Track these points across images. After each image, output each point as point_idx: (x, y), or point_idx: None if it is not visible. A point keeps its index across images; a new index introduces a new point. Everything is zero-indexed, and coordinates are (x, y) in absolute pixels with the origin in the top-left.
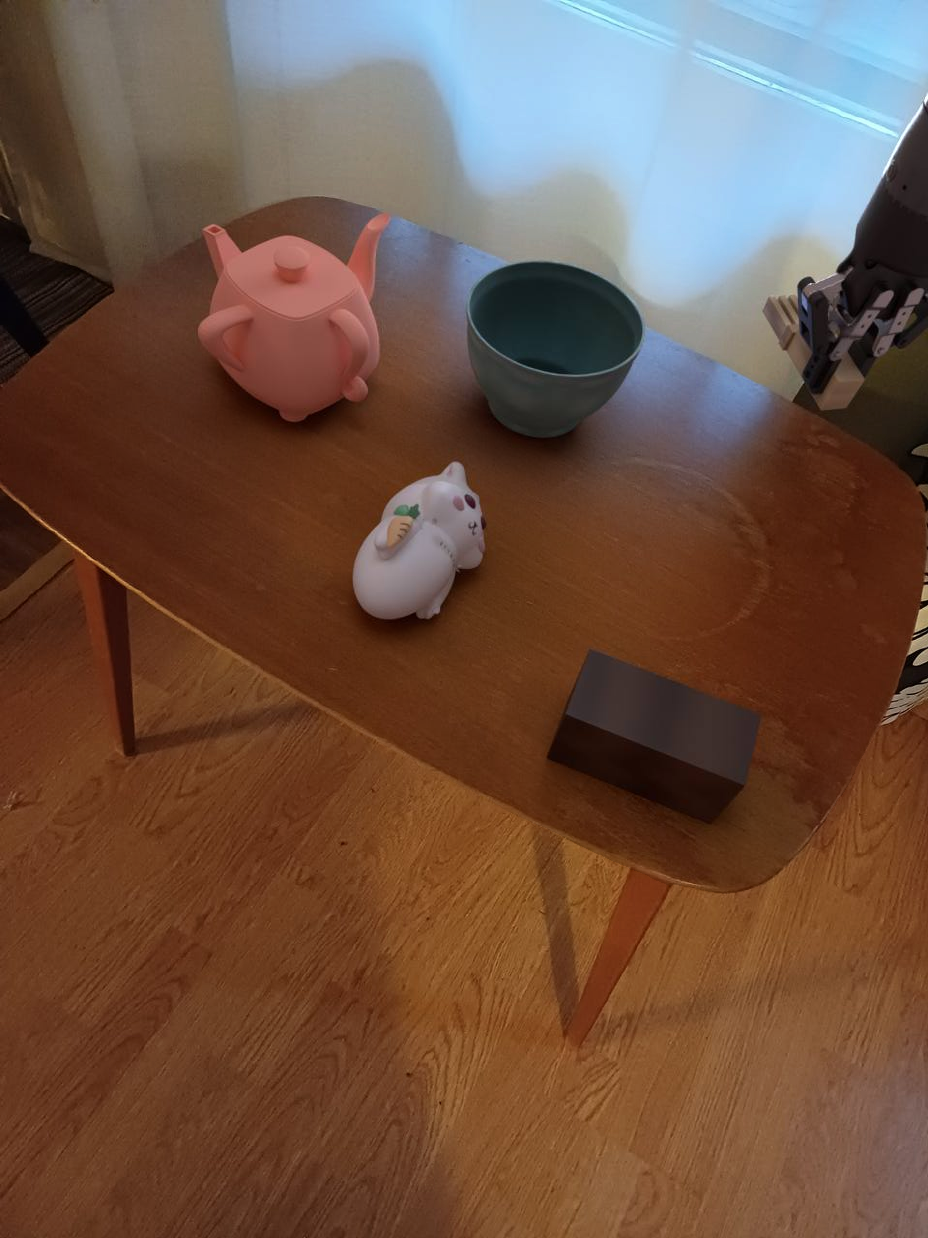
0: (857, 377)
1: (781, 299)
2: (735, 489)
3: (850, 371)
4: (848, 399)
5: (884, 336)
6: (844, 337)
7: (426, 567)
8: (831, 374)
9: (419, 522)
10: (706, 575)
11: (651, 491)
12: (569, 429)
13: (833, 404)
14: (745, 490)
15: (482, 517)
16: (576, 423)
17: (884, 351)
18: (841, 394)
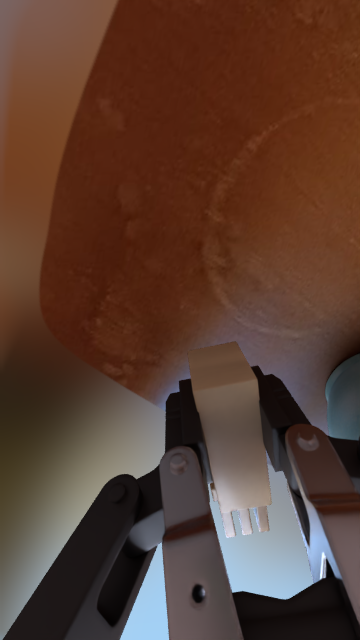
0: (209, 394)
1: (251, 527)
2: (215, 308)
3: (219, 408)
4: (197, 359)
5: (199, 512)
6: (357, 497)
7: None
8: (262, 397)
9: None
10: (277, 197)
11: (296, 300)
12: (351, 359)
13: (221, 349)
14: (206, 308)
15: None
16: (345, 365)
17: (171, 462)
18: (222, 362)
